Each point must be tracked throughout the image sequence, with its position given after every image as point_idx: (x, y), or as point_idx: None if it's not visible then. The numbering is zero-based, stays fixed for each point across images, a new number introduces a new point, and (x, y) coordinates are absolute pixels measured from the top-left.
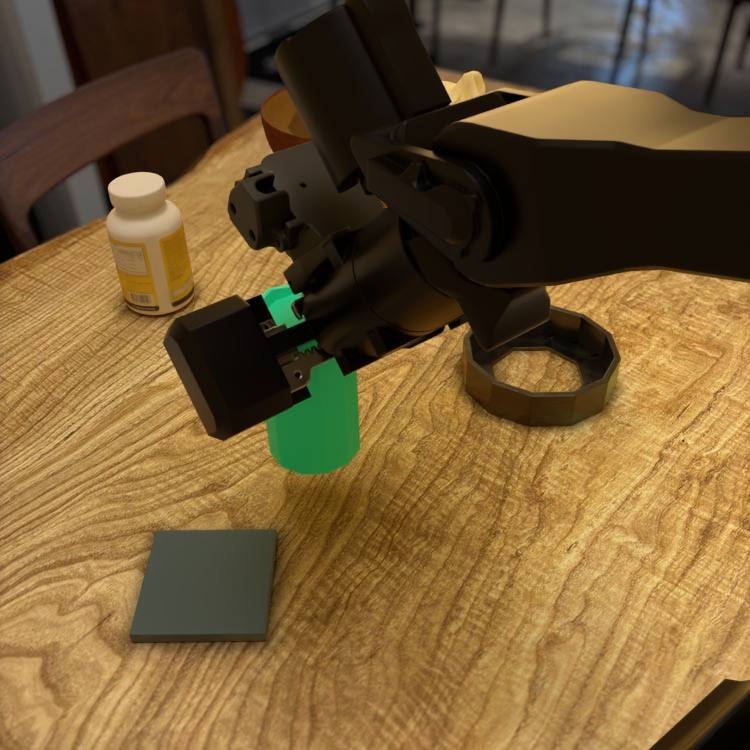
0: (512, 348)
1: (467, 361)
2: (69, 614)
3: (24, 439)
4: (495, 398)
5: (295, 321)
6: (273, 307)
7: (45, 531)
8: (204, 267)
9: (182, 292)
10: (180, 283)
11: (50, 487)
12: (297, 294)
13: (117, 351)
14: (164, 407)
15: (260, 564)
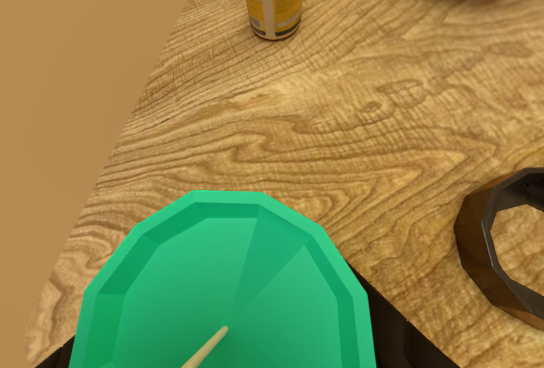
0: (528, 203)
1: (480, 221)
2: (90, 269)
3: (142, 111)
4: (481, 271)
5: (193, 339)
6: (184, 243)
7: (114, 193)
8: (318, 5)
9: (285, 25)
10: (284, 17)
11: (134, 158)
12: (262, 223)
13: (226, 60)
14: (227, 124)
15: None
